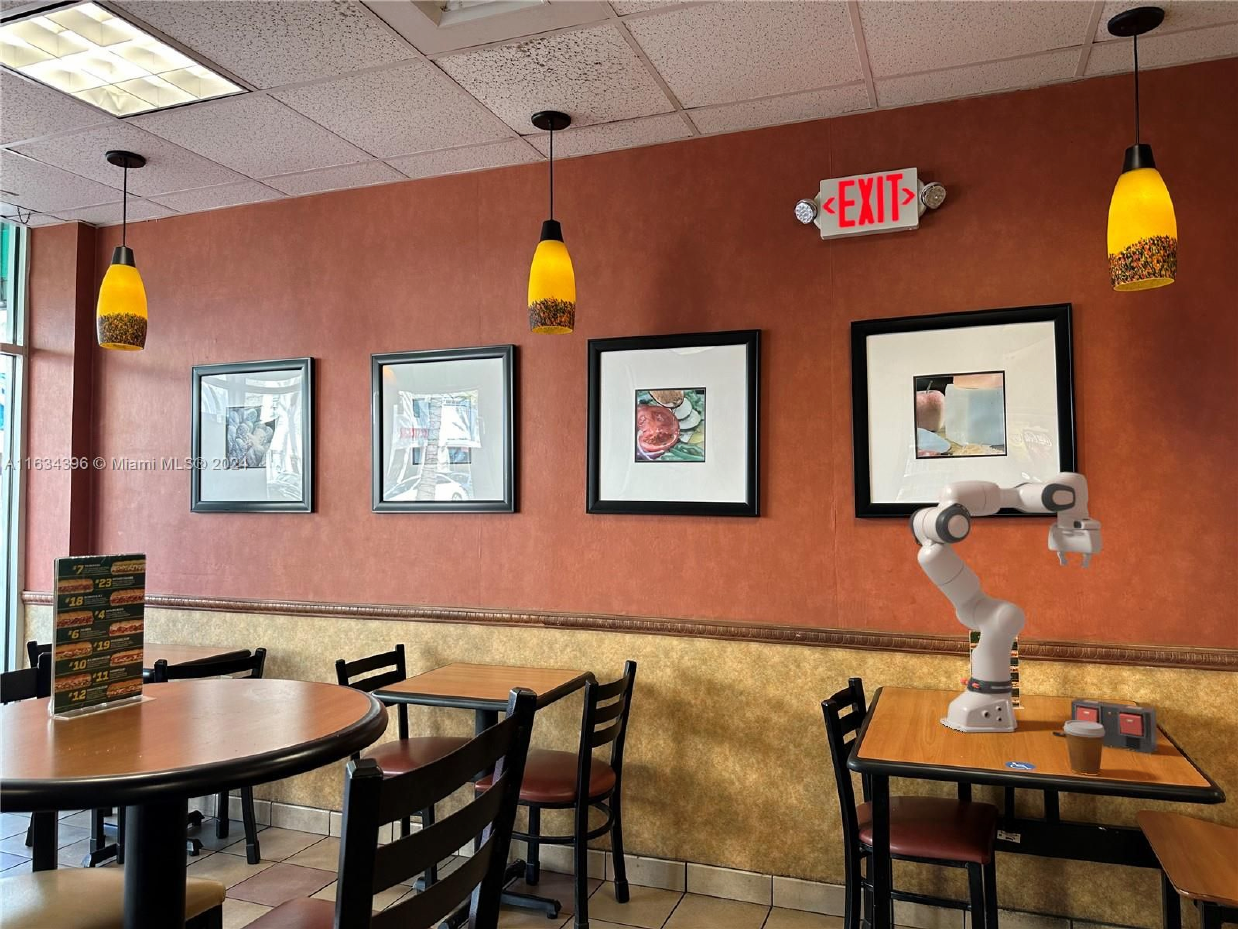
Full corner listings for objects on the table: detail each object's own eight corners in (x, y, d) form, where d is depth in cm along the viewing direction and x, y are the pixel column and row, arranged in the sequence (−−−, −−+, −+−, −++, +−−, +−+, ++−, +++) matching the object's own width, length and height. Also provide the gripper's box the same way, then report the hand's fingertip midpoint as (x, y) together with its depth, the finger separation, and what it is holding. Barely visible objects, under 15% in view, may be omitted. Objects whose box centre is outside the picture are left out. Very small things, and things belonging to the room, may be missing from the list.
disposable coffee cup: (1105, 780, 216) (1104, 731, 217) (1062, 774, 221) (1061, 726, 222) (1107, 770, 224) (1106, 722, 225) (1066, 764, 229) (1064, 718, 230)
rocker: (1097, 728, 245) (1097, 710, 247) (1095, 728, 245) (1096, 710, 246) (1077, 725, 249) (1078, 707, 250) (1076, 725, 248) (1077, 707, 249)
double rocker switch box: (1157, 749, 242) (1155, 708, 242) (1151, 755, 237) (1149, 712, 237) (1056, 733, 260) (1055, 694, 260) (1049, 737, 255) (1048, 698, 255)
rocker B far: (1142, 733, 239) (1141, 716, 238) (1141, 735, 238) (1139, 718, 237) (1122, 730, 242) (1120, 713, 242) (1120, 732, 241) (1119, 715, 241)
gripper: (1042, 522, 288) (1043, 564, 288) (1087, 523, 268) (1088, 569, 268) (1059, 521, 290) (1060, 563, 289) (1105, 523, 270) (1106, 568, 269)
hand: (1074, 566), depth 278 cm, fingers open, 8 cm apart
